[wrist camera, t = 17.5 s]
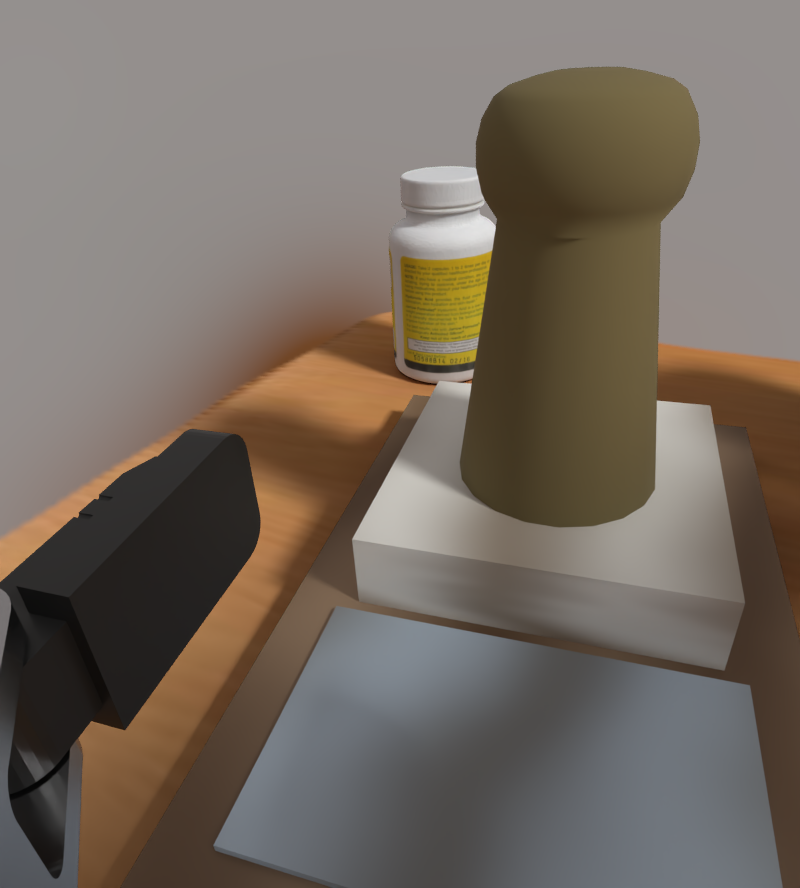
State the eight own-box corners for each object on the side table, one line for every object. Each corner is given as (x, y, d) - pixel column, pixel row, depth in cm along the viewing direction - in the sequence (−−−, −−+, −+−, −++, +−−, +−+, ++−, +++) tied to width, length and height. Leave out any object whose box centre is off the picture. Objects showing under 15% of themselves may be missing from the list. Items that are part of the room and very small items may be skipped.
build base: (739, 452, 28) (759, 373, 26) (912, 1224, 10) (1017, 1155, 8) (414, 417, 32) (411, 347, 30) (125, 933, 14) (71, 841, 12)
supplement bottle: (514, 372, 35) (523, 174, 30) (422, 396, 33) (414, 190, 28) (463, 337, 39) (463, 158, 34) (379, 357, 38) (366, 171, 32)
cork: (441, 430, 23) (435, 71, 18) (606, 410, 24) (652, 57, 18) (487, 541, 18) (498, 87, 13) (695, 511, 19) (798, 66, 13)
